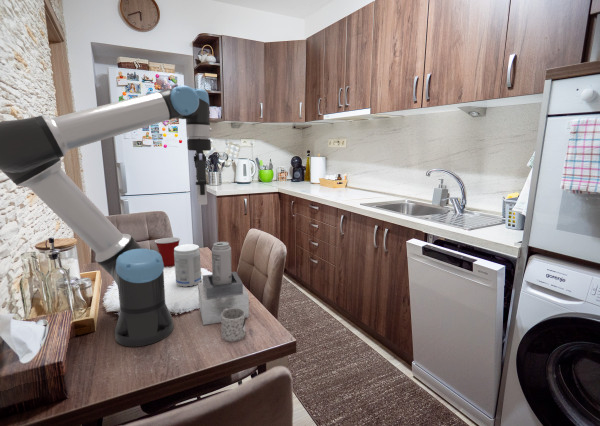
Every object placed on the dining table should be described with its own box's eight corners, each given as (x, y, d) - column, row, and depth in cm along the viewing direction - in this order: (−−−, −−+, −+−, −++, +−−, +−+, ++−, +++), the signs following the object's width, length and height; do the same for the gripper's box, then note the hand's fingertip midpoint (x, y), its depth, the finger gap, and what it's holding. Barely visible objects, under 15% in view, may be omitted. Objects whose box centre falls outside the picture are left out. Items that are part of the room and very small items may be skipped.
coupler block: (203, 325, 99) (201, 291, 97) (198, 304, 112) (197, 274, 110) (248, 317, 104) (248, 284, 102) (239, 298, 117) (239, 269, 115)
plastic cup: (176, 258, 158) (174, 234, 155) (185, 264, 150) (184, 239, 148) (152, 263, 150) (150, 238, 148) (161, 270, 143) (159, 243, 140)
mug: (248, 337, 93) (248, 315, 92) (226, 344, 90) (225, 321, 88) (235, 321, 102) (235, 301, 100) (214, 327, 98) (214, 306, 97)
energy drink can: (234, 289, 105) (233, 244, 103) (215, 293, 102) (214, 247, 99) (228, 283, 110) (227, 240, 108) (210, 286, 107) (209, 242, 105)
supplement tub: (195, 276, 137) (194, 242, 134) (205, 283, 129) (203, 247, 127) (172, 281, 131) (170, 246, 128) (180, 289, 123) (178, 252, 121)
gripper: (213, 137, 99) (216, 207, 103) (208, 139, 122) (210, 195, 126) (187, 137, 96) (191, 208, 100) (187, 139, 119) (190, 196, 124)
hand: (202, 201), depth 113 cm, fingers open, 13 cm apart
